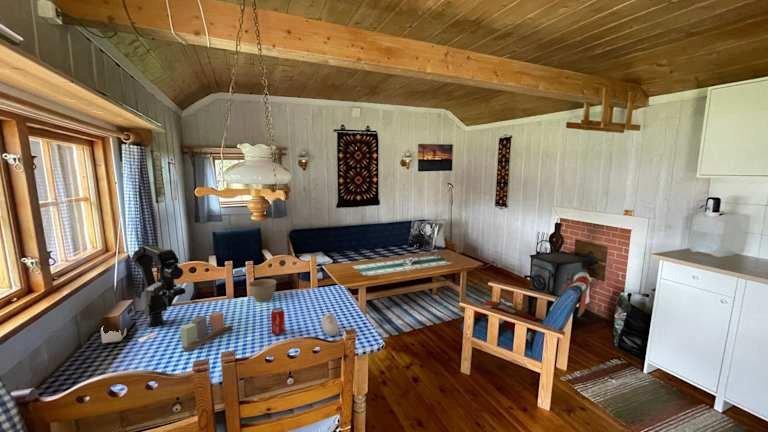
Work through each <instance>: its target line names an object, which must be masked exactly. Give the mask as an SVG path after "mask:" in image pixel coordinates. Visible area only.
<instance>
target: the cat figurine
mask: <svg viewBox="0 0 768 432" xmlns="http://www.w3.org/2000/svg"><path fill="white" fill-rule="evenodd" d="M320 326H321V329H322V330H323V331H322V332H323V333H324V334H325V335H326V336H329V337H333V336H335V335H338V334H340V330H339V327H340V326H339V322H338V319H337V317H336V316H335V315H334V314H333V313H332V312H331V313H330V312H329V313H324V314H323V317H322V319H321V321H320Z"/></svg>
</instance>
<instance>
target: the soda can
mask: <svg viewBox="0 0 768 432" xmlns="http://www.w3.org/2000/svg"><path fill="white" fill-rule="evenodd" d="M270 321H271V324H270V325H271V327H270V328H271V334H272V335H276V336H279V335H282V334H283V333H285V327H286V324H285V323H286V322H285V311H284V308H282V307H275V308H273V309H271V313H270Z"/></svg>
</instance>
